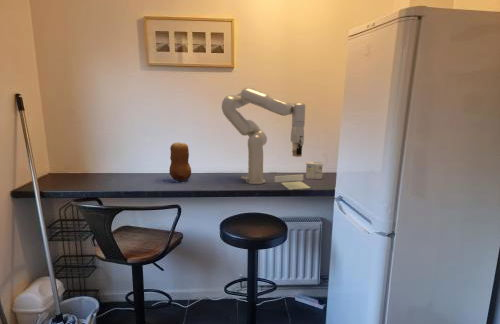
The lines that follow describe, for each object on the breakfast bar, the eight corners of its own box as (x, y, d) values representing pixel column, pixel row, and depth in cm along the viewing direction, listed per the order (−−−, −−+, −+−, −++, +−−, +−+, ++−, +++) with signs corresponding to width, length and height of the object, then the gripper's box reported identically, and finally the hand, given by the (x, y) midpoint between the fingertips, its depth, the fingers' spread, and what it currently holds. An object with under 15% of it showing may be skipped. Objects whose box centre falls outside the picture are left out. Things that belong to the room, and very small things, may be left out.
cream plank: (274, 182, 201) (275, 176, 200) (274, 182, 202) (274, 176, 201) (303, 180, 206) (303, 174, 206) (302, 180, 207) (303, 174, 206)
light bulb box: (320, 176, 216) (321, 161, 214) (322, 179, 210) (323, 163, 207) (305, 176, 217) (306, 161, 215) (306, 178, 211) (306, 163, 208)
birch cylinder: (294, 156, 187) (295, 143, 185) (291, 155, 192) (291, 142, 190) (303, 156, 188) (303, 143, 187) (299, 154, 193) (299, 142, 192)
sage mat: (289, 189, 186) (289, 189, 186) (280, 183, 199) (280, 182, 199) (310, 188, 189) (310, 187, 189) (301, 182, 203) (301, 181, 203)
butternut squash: (190, 177, 211) (189, 140, 206) (192, 182, 198) (191, 143, 193) (169, 178, 208) (168, 141, 202) (169, 183, 195) (168, 144, 190)
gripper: (287, 122, 193) (286, 151, 197) (298, 125, 177) (296, 156, 181) (298, 122, 195) (297, 151, 199) (310, 125, 179) (308, 156, 183)
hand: (296, 153), depth 190 cm, fingers closed on birch cylinder, 5 cm apart
